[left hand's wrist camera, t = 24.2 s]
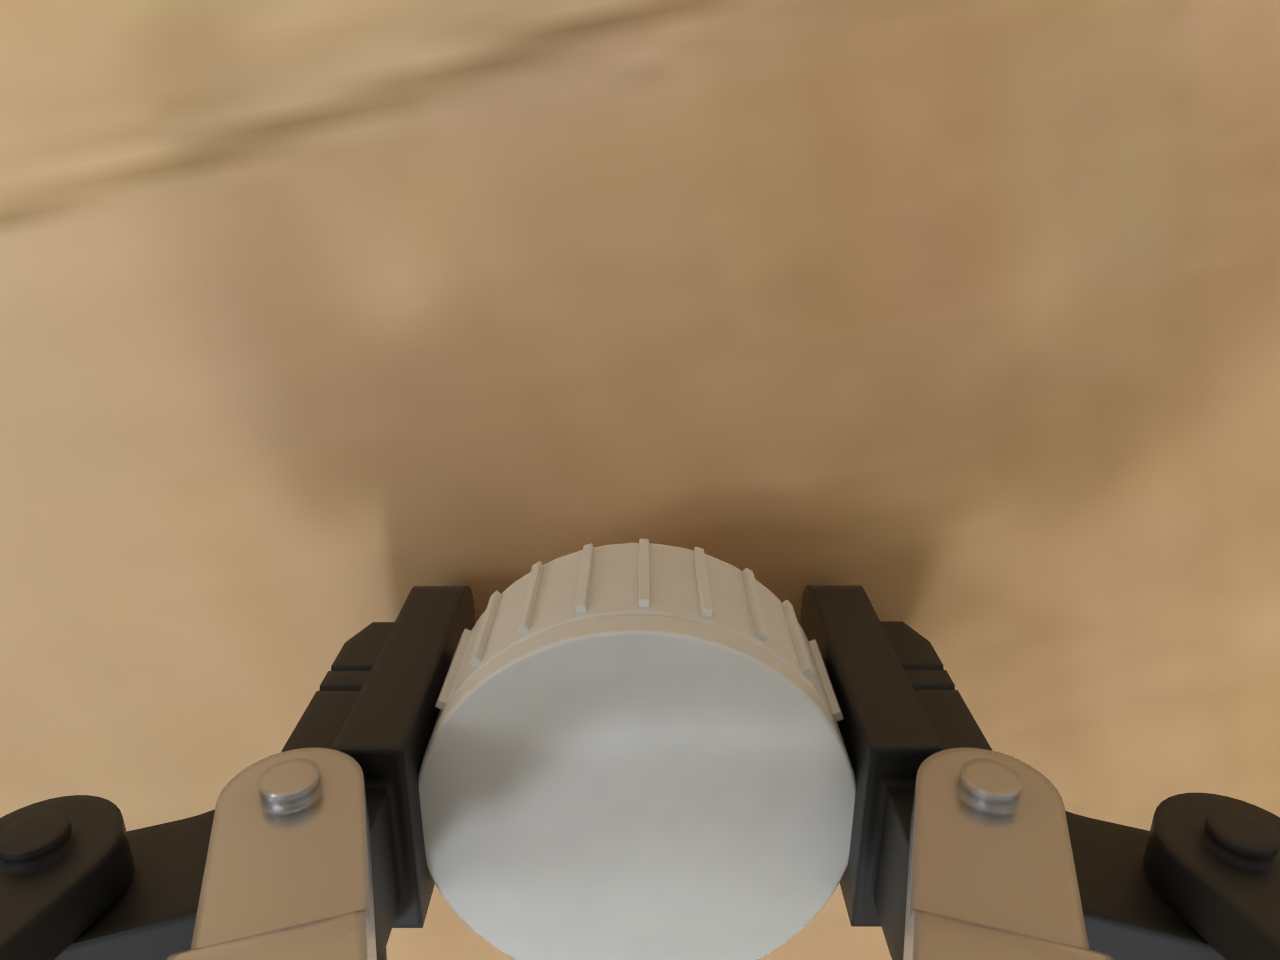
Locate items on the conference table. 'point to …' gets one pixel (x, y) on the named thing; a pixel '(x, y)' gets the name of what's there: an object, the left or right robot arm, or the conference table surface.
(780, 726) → the lid
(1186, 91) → the conference table surface
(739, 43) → the conference table surface
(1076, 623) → the conference table surface
